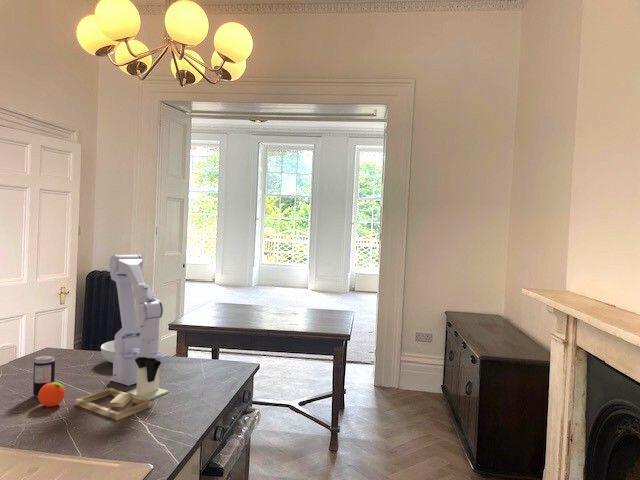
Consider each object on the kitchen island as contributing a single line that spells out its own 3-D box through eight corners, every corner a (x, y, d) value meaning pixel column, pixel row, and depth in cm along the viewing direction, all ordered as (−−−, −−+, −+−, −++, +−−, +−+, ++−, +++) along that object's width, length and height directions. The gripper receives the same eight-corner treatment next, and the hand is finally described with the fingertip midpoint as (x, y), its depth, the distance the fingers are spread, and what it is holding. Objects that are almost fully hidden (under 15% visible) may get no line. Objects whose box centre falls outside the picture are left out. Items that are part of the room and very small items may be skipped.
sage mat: (126, 393, 149) (126, 391, 149) (147, 386, 157) (147, 384, 157) (147, 400, 144) (147, 398, 144) (168, 392, 152) (168, 390, 152)
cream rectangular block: (136, 393, 148) (137, 369, 148) (154, 387, 154) (154, 363, 154) (141, 395, 147) (142, 370, 147) (158, 389, 153) (159, 364, 153)
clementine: (73, 402, 141) (73, 379, 141) (58, 411, 134) (59, 387, 134) (47, 400, 141) (48, 377, 141) (32, 409, 135) (32, 385, 134)
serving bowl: (156, 368, 175) (157, 350, 175) (95, 371, 169) (96, 353, 169) (159, 353, 195) (159, 337, 195) (104, 355, 189) (105, 338, 189)
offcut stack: (109, 415, 133) (109, 402, 133) (119, 405, 140) (119, 393, 140) (123, 415, 134) (123, 403, 133) (132, 405, 141) (132, 394, 140)
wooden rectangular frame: (75, 404, 139) (75, 399, 139) (110, 392, 149) (111, 388, 149) (117, 420, 130) (117, 414, 130) (151, 406, 140) (152, 401, 140)
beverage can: (58, 394, 147) (59, 356, 146) (41, 400, 141) (41, 361, 141) (46, 390, 149) (47, 353, 149) (28, 396, 144) (29, 358, 143)
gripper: (123, 337, 150) (122, 379, 150) (155, 344, 143) (153, 388, 143) (141, 333, 156) (140, 373, 156) (172, 340, 149) (171, 382, 149)
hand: (148, 380), depth 150 cm, fingers closed on cream rectangular block, 2 cm apart
